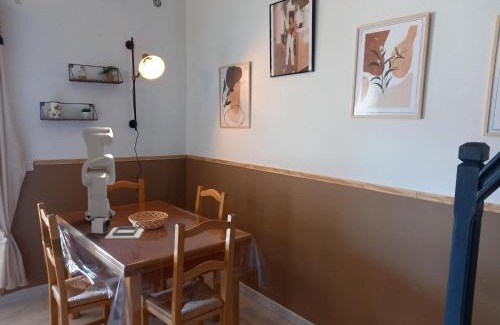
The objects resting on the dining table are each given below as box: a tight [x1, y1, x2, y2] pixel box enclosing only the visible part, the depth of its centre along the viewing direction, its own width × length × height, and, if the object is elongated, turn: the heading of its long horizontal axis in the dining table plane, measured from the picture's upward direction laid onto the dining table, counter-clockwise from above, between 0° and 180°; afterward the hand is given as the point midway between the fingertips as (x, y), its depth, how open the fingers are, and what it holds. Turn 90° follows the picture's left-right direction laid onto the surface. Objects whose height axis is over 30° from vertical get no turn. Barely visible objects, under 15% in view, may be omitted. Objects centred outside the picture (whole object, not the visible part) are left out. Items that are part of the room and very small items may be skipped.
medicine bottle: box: [91, 217, 110, 234], centre depth 198 cm, size 7×7×12 cm
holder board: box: [104, 226, 145, 240], centre depth 197 cm, size 18×18×2 cm
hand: (100, 226), depth 198 cm, fingers closed on medicine bottle, 8 cm apart
